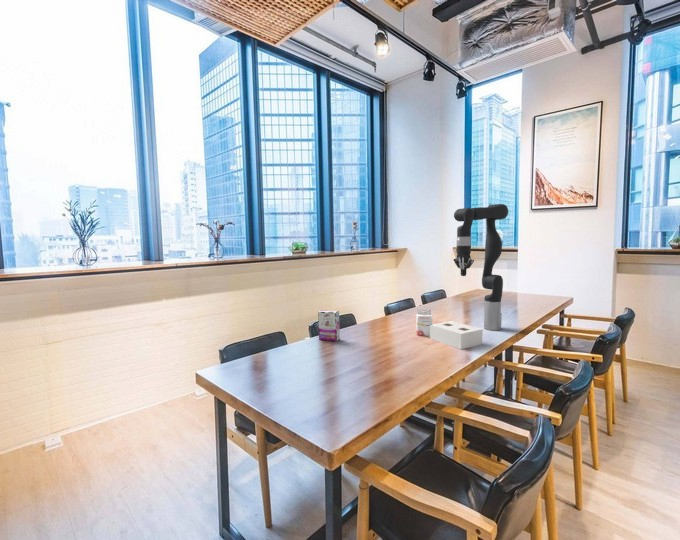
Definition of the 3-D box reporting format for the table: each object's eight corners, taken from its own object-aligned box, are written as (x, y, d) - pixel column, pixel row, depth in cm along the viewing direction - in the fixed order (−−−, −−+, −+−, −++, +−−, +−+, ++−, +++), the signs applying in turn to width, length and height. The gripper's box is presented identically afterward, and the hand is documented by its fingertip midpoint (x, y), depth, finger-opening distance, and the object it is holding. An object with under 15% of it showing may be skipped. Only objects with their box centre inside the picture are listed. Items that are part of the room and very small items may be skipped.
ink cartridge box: (417, 335, 204) (417, 310, 203) (416, 333, 209) (416, 309, 208) (432, 335, 203) (432, 310, 202) (431, 333, 208) (431, 309, 207)
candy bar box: (340, 339, 201) (339, 310, 199) (336, 341, 196) (336, 312, 195) (322, 337, 205) (321, 309, 203) (318, 339, 200) (317, 311, 199)
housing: (450, 334, 206) (450, 320, 205) (482, 344, 187) (482, 329, 186) (430, 338, 198) (430, 324, 197) (461, 349, 179) (461, 333, 178)
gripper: (478, 244, 191) (477, 276, 193) (459, 244, 203) (458, 274, 205) (468, 245, 188) (468, 277, 190) (449, 245, 199) (449, 275, 201)
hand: (463, 275), depth 197 cm, fingers closed
